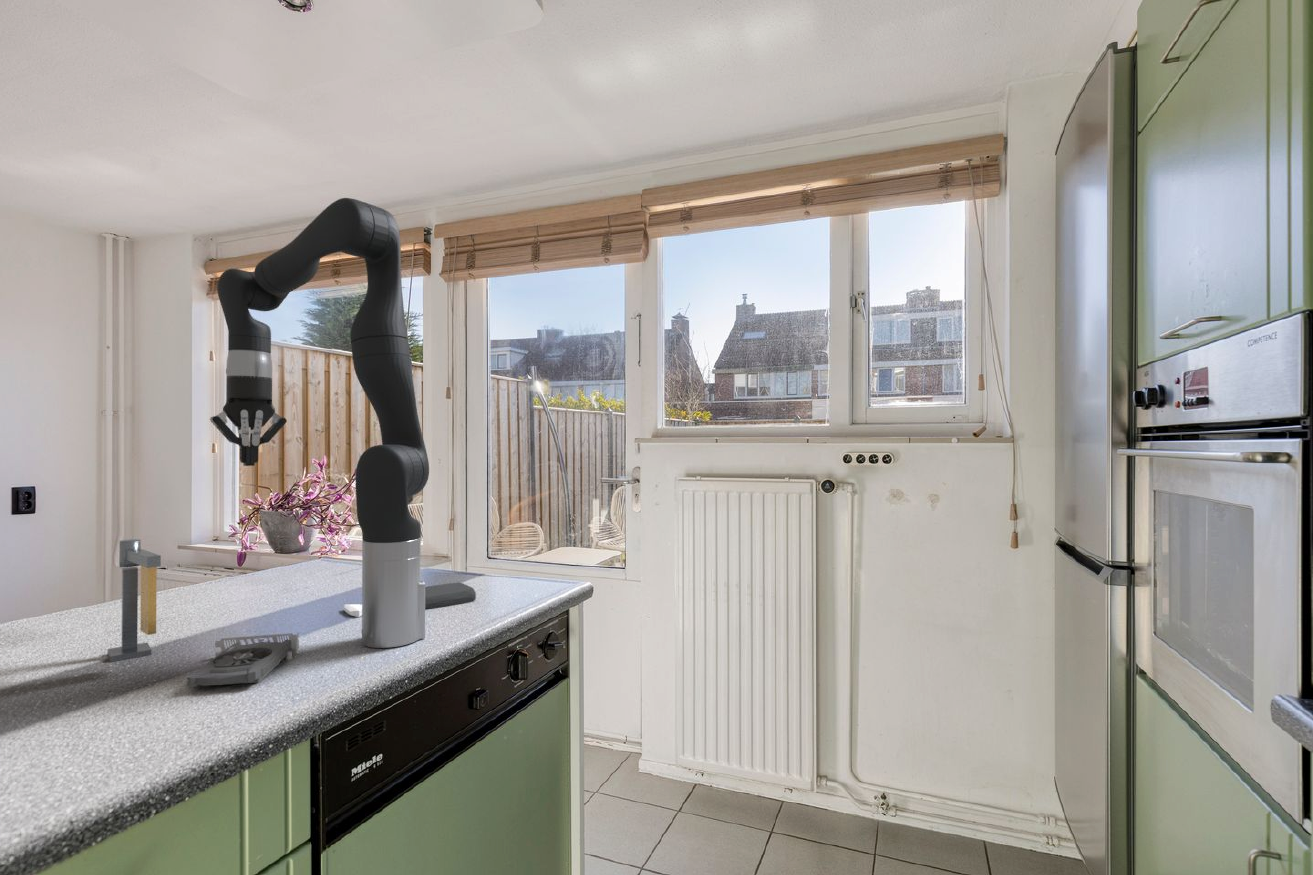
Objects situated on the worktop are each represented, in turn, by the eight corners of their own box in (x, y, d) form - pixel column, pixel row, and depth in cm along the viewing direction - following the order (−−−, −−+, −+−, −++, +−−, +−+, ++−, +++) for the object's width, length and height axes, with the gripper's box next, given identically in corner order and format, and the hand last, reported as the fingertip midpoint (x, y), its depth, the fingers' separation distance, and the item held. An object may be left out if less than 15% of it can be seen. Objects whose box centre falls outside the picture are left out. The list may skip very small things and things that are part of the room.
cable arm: (164, 632, 97) (164, 546, 97) (142, 637, 95) (143, 549, 95) (137, 618, 105) (137, 538, 105) (116, 621, 103) (117, 540, 103)
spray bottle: (479, 603, 138) (354, 625, 123) (459, 593, 147) (340, 612, 132) (478, 589, 138) (354, 609, 123) (459, 580, 147) (340, 598, 132)
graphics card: (218, 636, 103) (301, 630, 106) (219, 660, 103) (301, 653, 106) (159, 675, 87) (259, 667, 89) (160, 703, 87) (260, 694, 89)
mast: (147, 647, 107) (147, 564, 107) (151, 654, 103) (151, 568, 103) (107, 654, 104) (108, 568, 104) (110, 661, 100) (110, 572, 100)
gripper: (212, 371, 119) (212, 467, 119) (293, 376, 128) (292, 465, 128) (204, 374, 124) (204, 465, 124) (282, 379, 133) (282, 464, 133)
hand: (249, 465), depth 126 cm, fingers closed
